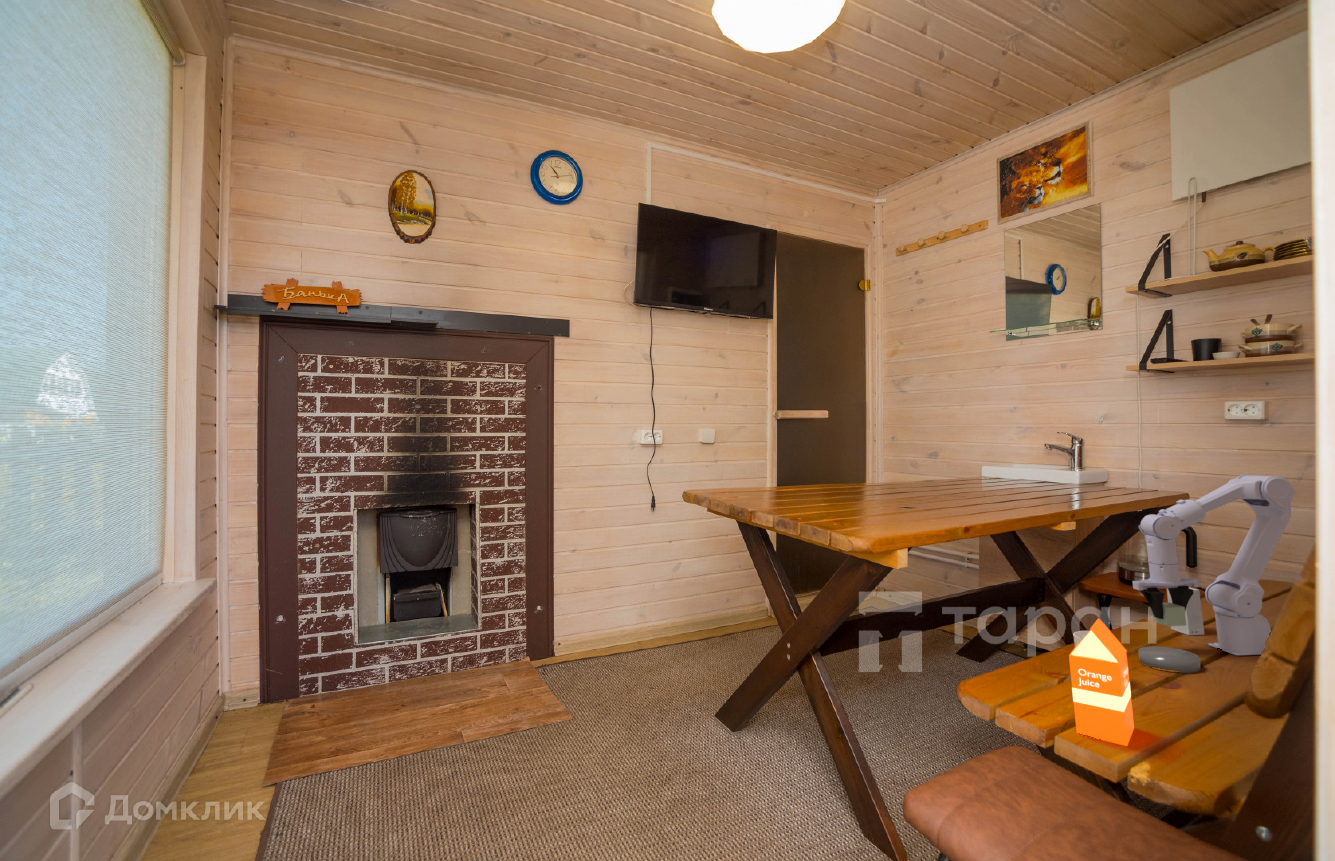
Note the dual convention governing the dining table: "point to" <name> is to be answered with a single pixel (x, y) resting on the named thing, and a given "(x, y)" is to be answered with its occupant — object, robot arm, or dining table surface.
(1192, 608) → the skincare box
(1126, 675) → the orange juice
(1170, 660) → the charcoal base
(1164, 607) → the green cube
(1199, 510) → the robot arm
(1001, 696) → the dining table surface
